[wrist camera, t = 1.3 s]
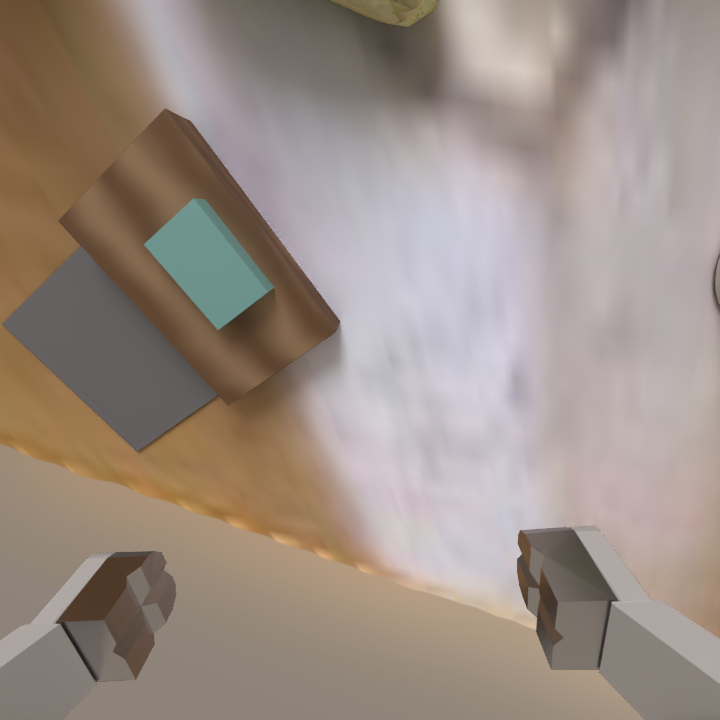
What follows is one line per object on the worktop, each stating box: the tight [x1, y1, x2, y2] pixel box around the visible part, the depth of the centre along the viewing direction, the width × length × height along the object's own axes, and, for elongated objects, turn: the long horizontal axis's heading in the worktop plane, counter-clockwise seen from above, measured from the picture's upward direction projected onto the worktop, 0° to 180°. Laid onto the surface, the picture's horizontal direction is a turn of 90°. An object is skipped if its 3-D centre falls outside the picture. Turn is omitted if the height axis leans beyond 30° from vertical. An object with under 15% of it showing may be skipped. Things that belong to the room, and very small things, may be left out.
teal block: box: [144, 198, 274, 330], centre depth 31 cm, size 6×9×2 cm, turn 36°
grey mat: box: [2, 246, 218, 452], centre depth 41 cm, size 16×20×1 cm
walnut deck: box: [59, 109, 340, 405], centre depth 35 cm, size 14×22×4 cm, turn 36°
